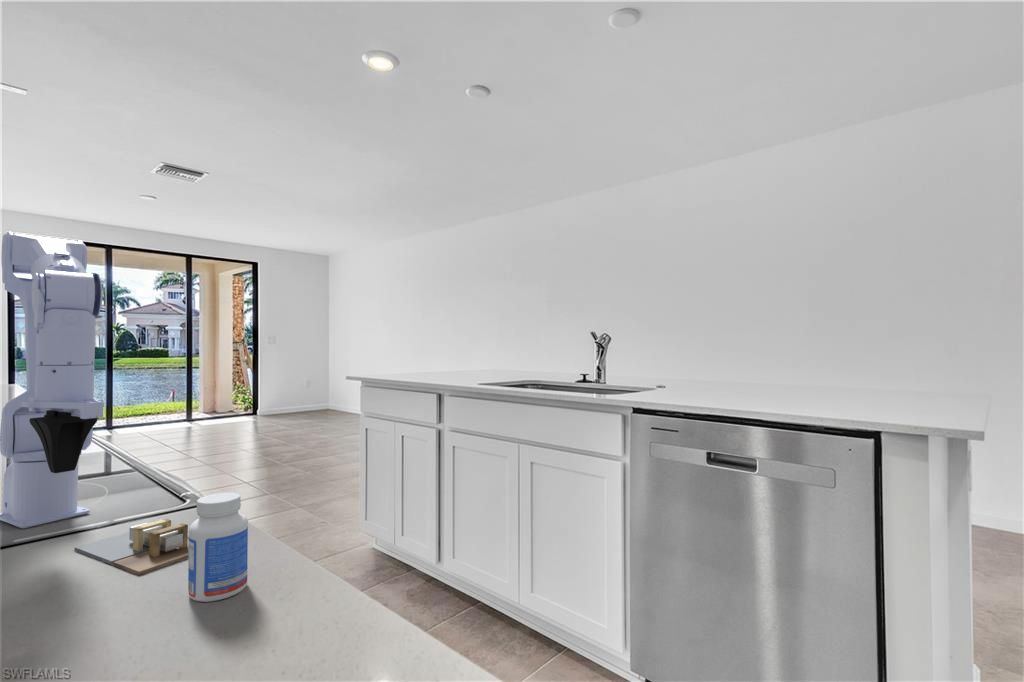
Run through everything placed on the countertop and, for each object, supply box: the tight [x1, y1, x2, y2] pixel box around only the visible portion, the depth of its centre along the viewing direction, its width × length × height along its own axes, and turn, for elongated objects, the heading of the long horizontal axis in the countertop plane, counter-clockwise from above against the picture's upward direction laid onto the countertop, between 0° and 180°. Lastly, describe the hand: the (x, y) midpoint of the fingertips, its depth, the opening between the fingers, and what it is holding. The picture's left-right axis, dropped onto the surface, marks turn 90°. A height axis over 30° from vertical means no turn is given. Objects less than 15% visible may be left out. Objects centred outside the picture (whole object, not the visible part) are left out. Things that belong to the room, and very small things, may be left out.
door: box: [73, 518, 189, 565], centre depth 66 cm, size 9×10×3 cm
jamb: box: [112, 522, 189, 576], centre depth 63 cm, size 5×10×3 cm, turn 153°
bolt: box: [129, 522, 183, 552], centre depth 64 cm, size 8×2×2 cm, turn 63°
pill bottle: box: [187, 492, 249, 603], centre depth 54 cm, size 6×5×10 cm
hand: (62, 471), depth 65 cm, fingers closed
